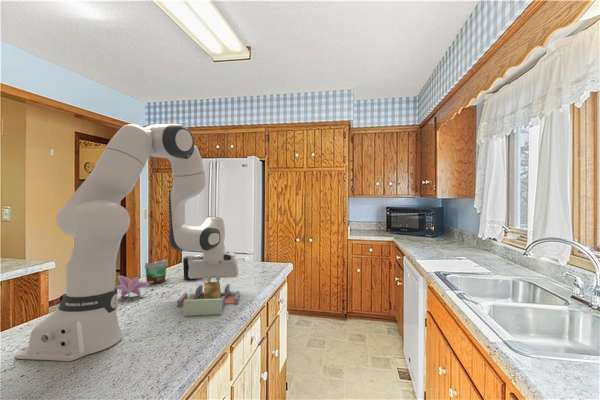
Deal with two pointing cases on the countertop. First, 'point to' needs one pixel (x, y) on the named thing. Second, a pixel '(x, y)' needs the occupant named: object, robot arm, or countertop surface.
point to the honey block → (212, 290)
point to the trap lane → (206, 303)
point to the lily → (130, 285)
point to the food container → (156, 271)
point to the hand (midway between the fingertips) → (213, 288)
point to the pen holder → (186, 268)
